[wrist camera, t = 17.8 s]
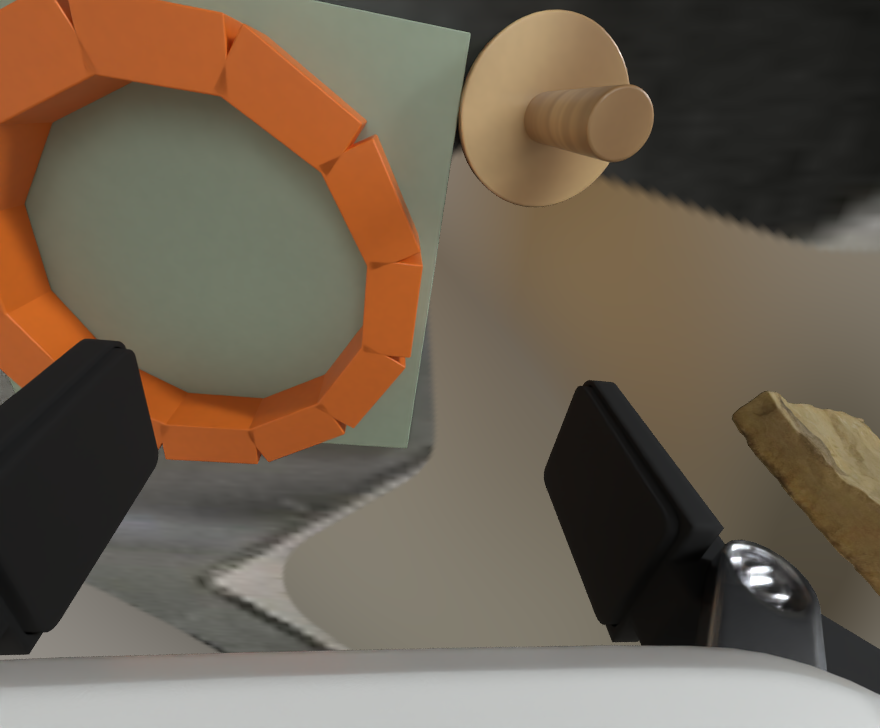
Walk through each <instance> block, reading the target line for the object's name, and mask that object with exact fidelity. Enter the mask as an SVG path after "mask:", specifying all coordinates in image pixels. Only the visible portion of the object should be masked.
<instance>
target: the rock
mask: <svg viewBox="0 0 880 728" xmlns="http://www.w3.org/2000/svg"><path fill="white" fill-rule="evenodd" d="M732 420H733V421H734V423H735V424H736V426H737V428H738V430H739V431H740V433H741V434H742V435H744V437H745V438H746V440H747V443H748V446H749V447H750V448H751V449H752V451H753V452H754V453H755V455H756V456H757V457H758V458H759V460H761V462H762V463H763V464H764V465H765V466H766V467H767V469H768V470H769V471H770V472H771V473H772V474H773V475H774V476H775V477H776V478H777V479H778V481H779V482H780V484H781V485H782V487H783V488H784V490H785V491H786V492H787V493H788V495H789V496H790V497H791V498H792V500H793V501H794V502H795V503H796V504H797V505H798V506H799V507H800V508H801V509H802V510H803V511H804V512H805V513H806V515H807V516H808V517H809V519H810V520H811V522H812V523H813V524H814V525H815V526H816V528H817V529H818V530H819V531H820V532H822V533H823V535H824V536H825V537H826V539H827V540H828V541H829V542H830V543H831V544H832V545H833V546H834V548H835V549H836V550H837V551H838V552H839V553H840V554H841V555H842V556H843V557H844V558H845V559H846V560H848V561H849V562H850V563H851V564H853V565H854V568H855V570H856V571H857V572H858V573H859V574H861V575H862V576H863V577H864V578H865V580H867V582H868V583H869V584H870V585H871V586H872V588H873V589H874V590H875V592H876V593H877V594H878V595H879V596H880V439H879V438H878V437H877V436H876V435H875V434H874V433H873V432H872V431H871V429H870V428H869V427H868V426H867V425H866V424H864V423H863V422H864V420H863V419H861V418H854V417H852V416H850V415H848V414H846V413H844V412H842V411H833V410H831V409H819V408H814V407H813V406H812V405H809V404H802V403H801V404H800V403H799V404H793V403H788V402H787V401H786V400H785V399H784V398H783V397H782V396H781V395H780V394H778V393H776V392H770V391H764V392H763V393H761V394H759V395H758V396H757V397H755V398H754V399H753V400H752V401H750V402H749V403H747V404H745V405H744V406H742V407H741V408H739V409H738V410H737V411H736V412H735V413H734V414H733V417H732Z"/></svg>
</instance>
